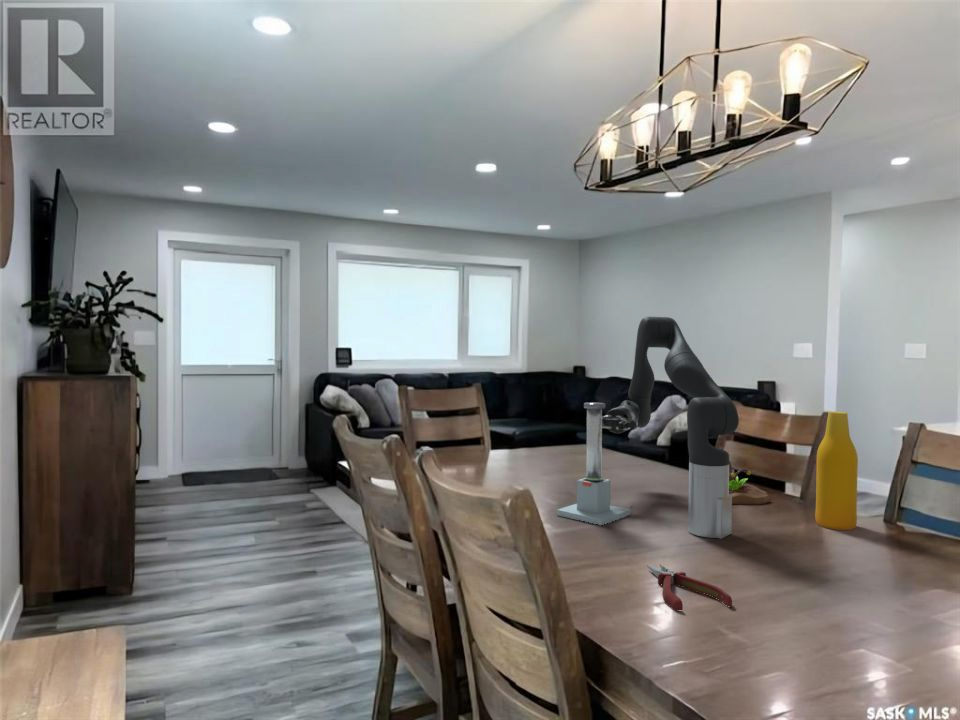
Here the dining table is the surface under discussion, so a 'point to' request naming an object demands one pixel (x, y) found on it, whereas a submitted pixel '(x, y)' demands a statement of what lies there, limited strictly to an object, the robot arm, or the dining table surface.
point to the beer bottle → (836, 476)
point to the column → (594, 441)
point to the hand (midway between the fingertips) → (604, 425)
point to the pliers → (681, 579)
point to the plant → (745, 490)
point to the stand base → (593, 504)
